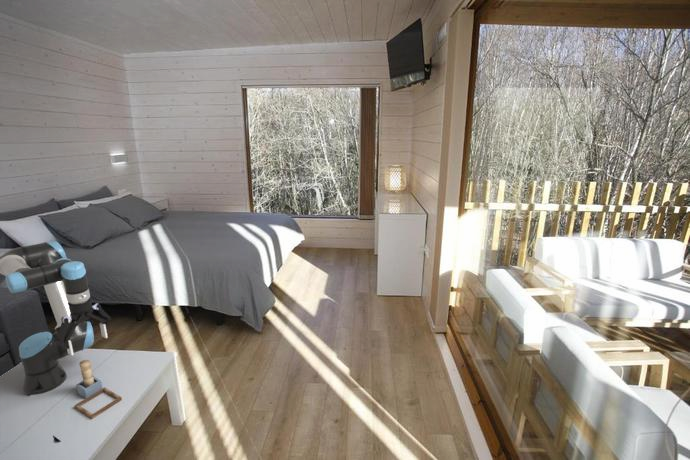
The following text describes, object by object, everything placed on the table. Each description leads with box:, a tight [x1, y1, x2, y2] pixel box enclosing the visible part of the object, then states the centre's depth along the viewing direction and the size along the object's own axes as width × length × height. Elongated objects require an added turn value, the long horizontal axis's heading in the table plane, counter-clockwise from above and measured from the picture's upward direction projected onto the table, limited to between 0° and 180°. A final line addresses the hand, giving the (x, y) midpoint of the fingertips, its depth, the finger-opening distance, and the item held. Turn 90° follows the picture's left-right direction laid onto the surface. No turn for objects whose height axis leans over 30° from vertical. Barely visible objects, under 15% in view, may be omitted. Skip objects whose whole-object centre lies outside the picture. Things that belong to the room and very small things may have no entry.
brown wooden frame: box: [74, 387, 123, 420], centre depth 156 cm, size 12×12×2 cm
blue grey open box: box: [76, 375, 104, 399], centre depth 162 cm, size 7×7×5 cm
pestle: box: [79, 359, 94, 388], centre depth 161 cm, size 4×4×15 cm
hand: (88, 345), depth 155 cm, fingers open, 13 cm apart
